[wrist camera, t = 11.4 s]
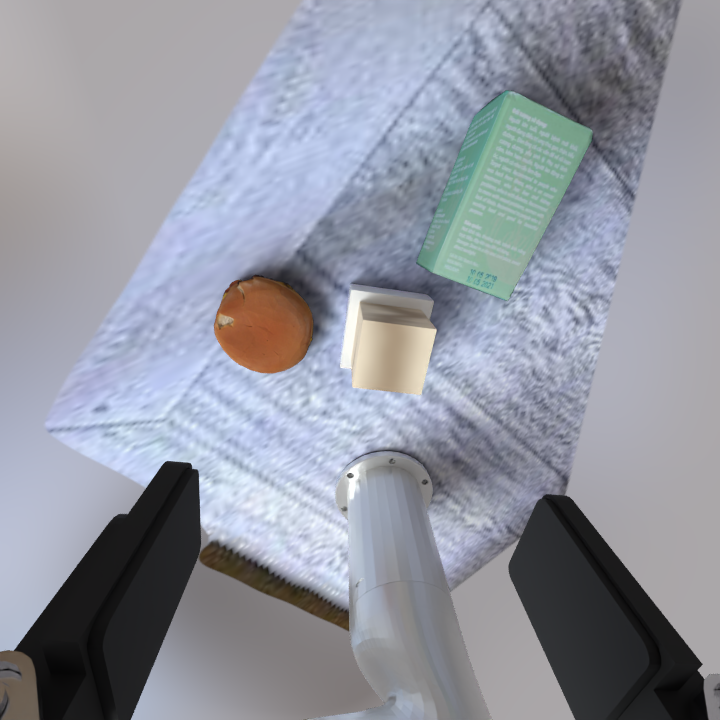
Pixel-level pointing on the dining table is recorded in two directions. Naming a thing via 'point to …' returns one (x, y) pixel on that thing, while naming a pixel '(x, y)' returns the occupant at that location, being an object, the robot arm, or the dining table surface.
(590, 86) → the dining table surface
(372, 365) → the maple block
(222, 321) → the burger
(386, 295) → the white slab
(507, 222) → the box
